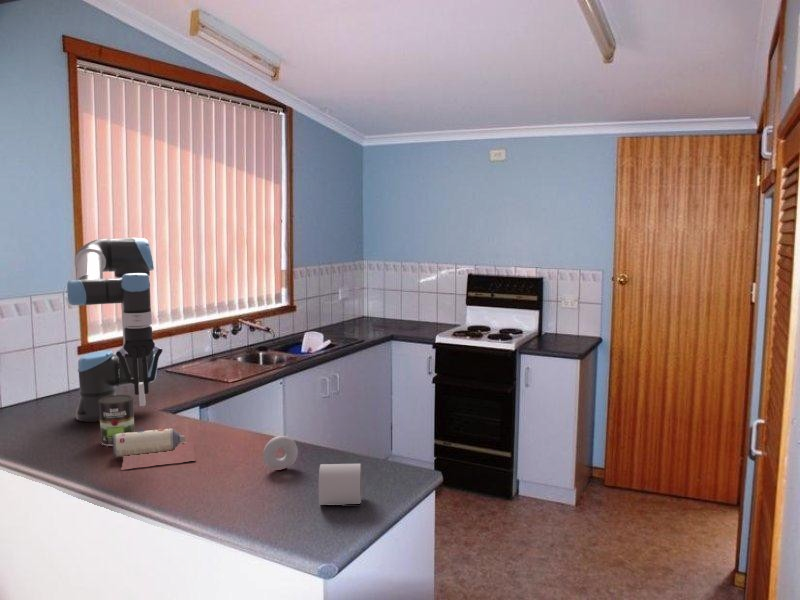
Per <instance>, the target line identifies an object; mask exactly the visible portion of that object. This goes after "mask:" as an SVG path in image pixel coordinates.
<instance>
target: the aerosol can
mask: <svg viewBox="0 0 800 600" xmlns="http://www.w3.org/2000/svg"><path fill="white" fill-rule="evenodd" d="M185 441H186V437H185V435H183V434H180V433H179V432H178V431H177V430H175V428H160V429H151V430H140V431H135V432H128V433H118V434H114V435H113V447H112V453H113V457H114V458H116V457H117V458H120V457H123V456H130V455H140V454H149V453H158V452H167V451H173V450H175V448H176V447H178V446H179V444H180V443H183V442H185Z"/></svg>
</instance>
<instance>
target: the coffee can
mask: <svg viewBox="0 0 800 600" xmlns="http://www.w3.org/2000/svg"><path fill="white" fill-rule="evenodd" d="M98 403H99V414H100V421H99V426H100V429H99V430H100V444H101V443H102V444H104V445H113V435H114V434H118V433H128V432H136V430H135V414H134V412H135V411H134V396H132V395H128V394H116V395H114V396H108V397H104V398H102V399H100V400H99V401H98ZM102 444H101V445H102Z"/></svg>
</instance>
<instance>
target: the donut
mask: <svg viewBox="0 0 800 600" xmlns="http://www.w3.org/2000/svg"><path fill="white" fill-rule="evenodd" d="M282 448H283V449H284V450H285V454H284V456H283V457H280V458H278V457H276V452H277V451H278V450H279V449H282ZM298 452H299V449H298V445H297V444H296V442H295V440H294V439H292V438H291V437H290V436H286V435H279V436H278V435H277V436H275V437H273V438H271V439H270V440H269V441H268V442H267V443H266V444H265V445H264V448H263V451H262V457H263V461H264V464H265V465H266V467H268V468H280V467H287V466H290V467H292V466H293V464H294V463H295V462H296V460H297V458H298ZM291 465H292V466H291Z"/></svg>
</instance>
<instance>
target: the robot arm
mask: <svg viewBox="0 0 800 600" xmlns="http://www.w3.org/2000/svg"><path fill="white" fill-rule="evenodd" d="M74 266H75V268H76V277H75V279H72V280H68V282H67V283H66V287H67V288H66V289H67V301H68V303H69V305H71V306H81V307H82V306H91V305H92V306H94V305H95V306H96V305H109V304H120V308H121V324H122V326H121V327H122V340H123V343H122V344H123V345H122V346H121V347H120V348H119V349H118V350H116V352H115V354H114V352H113V351H112V350H100V351H94V352H91V353H87V354H85V355H83V356H81V357H80V358H79V359H78V361H77V363H78V364H77V367H78V368H77V372H78V382H79V383H78V385H79V396H80V397H79V401H78V405H77V408H76V412H75V419H76V421H78V420H79V421H78V422H82V421H84V422H83V423H94V422H95V423H96V422H97V421H98V422H100V414H99V403H98V401H99V400H100V399H102V398H104V397H108V396H114V395H117V394H116V387H122V386H130V385H131V386H134V394H135V396H137V395H138V401H139V407H145V406H146V404H147V403H146V395H148V394H149V391H150V390H149V389H150V388H149V384H150V383H153V382H155V381H156V378H157V374H158V363H159V358H160V356H161V354H162V353H163V347H159V346H158V345H156V344H155V342H154V340H153V339H154V338H153V327H152V326H151V325H152V324H153V323H152V322H153V319H152V307H151V306H152V305H151V282H150V275H151V273H150V271H151V272H152V271H154V270H155V269H154V268H155V267H154V261H153V256H152V251H151V246H150V243H149V240H148V239H146V238H140V237H123V238H122V237H117V238H115V237H113V238H106V237H105V238H98V239H95V240H91V241H89V242H88V243H85V244H84V245H82V246H81V247H80V248H79V249H78V250H77V252H76V254H75V256H74ZM106 272H108V273H109V272H114V278H104V273H106Z"/></svg>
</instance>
